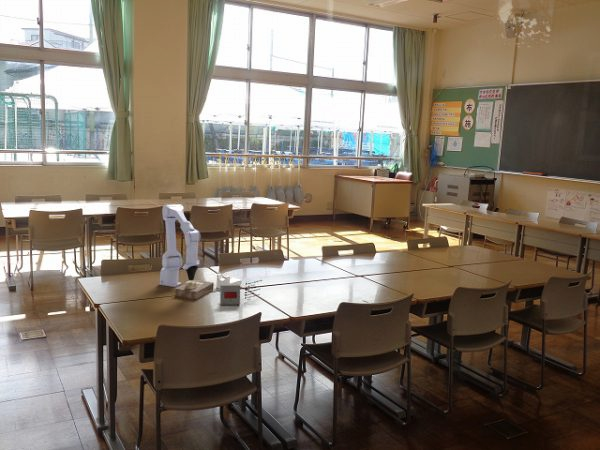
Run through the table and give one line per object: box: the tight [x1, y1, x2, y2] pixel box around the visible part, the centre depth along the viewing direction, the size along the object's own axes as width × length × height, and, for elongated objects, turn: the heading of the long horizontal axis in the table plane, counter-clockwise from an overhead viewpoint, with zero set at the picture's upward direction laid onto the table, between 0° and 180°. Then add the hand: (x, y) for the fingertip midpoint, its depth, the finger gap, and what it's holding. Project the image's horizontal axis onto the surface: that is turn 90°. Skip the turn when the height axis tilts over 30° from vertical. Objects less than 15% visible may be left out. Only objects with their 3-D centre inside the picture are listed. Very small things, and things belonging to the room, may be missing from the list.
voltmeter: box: [219, 279, 263, 306], centre depth 285 cm, size 27×11×10 cm, turn 142°
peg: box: [185, 280, 196, 290], centre depth 288 cm, size 4×4×4 cm
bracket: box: [215, 273, 242, 289], centre depth 309 cm, size 13×7×8 cm, turn 148°
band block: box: [174, 279, 215, 300], centre depth 293 cm, size 12×20×4 cm, turn 164°
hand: (191, 280), depth 287 cm, fingers closed
